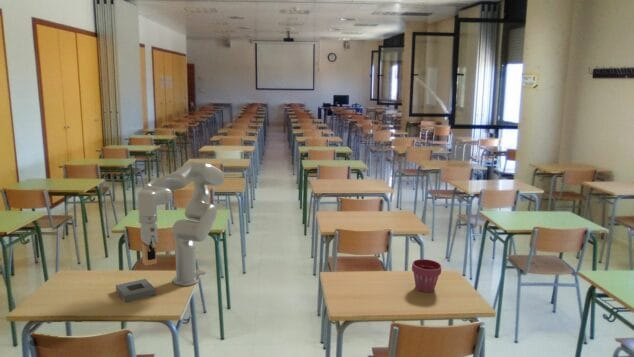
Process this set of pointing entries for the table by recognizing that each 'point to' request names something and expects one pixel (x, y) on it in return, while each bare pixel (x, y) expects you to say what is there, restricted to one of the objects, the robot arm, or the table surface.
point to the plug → (145, 255)
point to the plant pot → (426, 274)
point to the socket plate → (135, 290)
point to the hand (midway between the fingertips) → (149, 257)
